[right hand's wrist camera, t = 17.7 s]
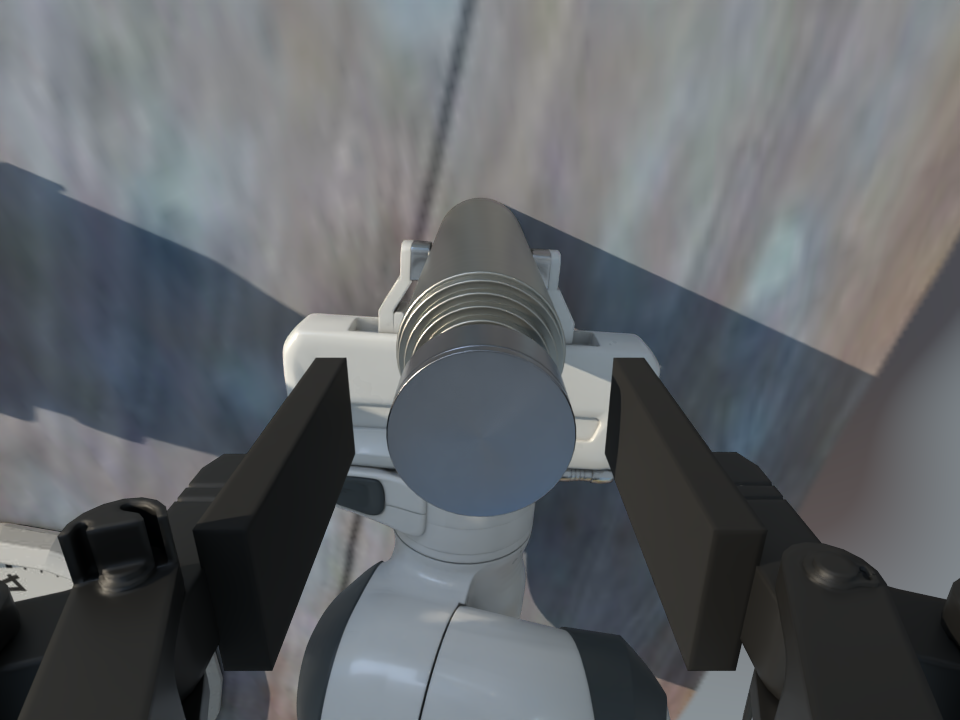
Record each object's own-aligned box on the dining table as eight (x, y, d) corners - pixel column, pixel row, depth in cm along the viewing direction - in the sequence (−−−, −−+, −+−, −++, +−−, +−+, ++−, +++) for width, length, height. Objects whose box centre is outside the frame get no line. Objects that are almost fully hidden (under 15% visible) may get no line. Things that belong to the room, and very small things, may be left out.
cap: (580, 454, 15) (592, 495, 14) (424, 489, 16) (418, 533, 14) (545, 303, 14) (554, 328, 12) (373, 347, 14) (359, 377, 12)
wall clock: (283, 743, 50) (15, 833, 55) (289, 725, 52) (27, 814, 56) (52, 479, 40) (-252, 616, 45) (68, 466, 42) (-228, 600, 46)
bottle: (434, 279, 37) (365, 511, 14) (441, 193, 35) (371, 309, 12) (517, 287, 37) (574, 529, 15) (528, 202, 35) (613, 333, 13)
